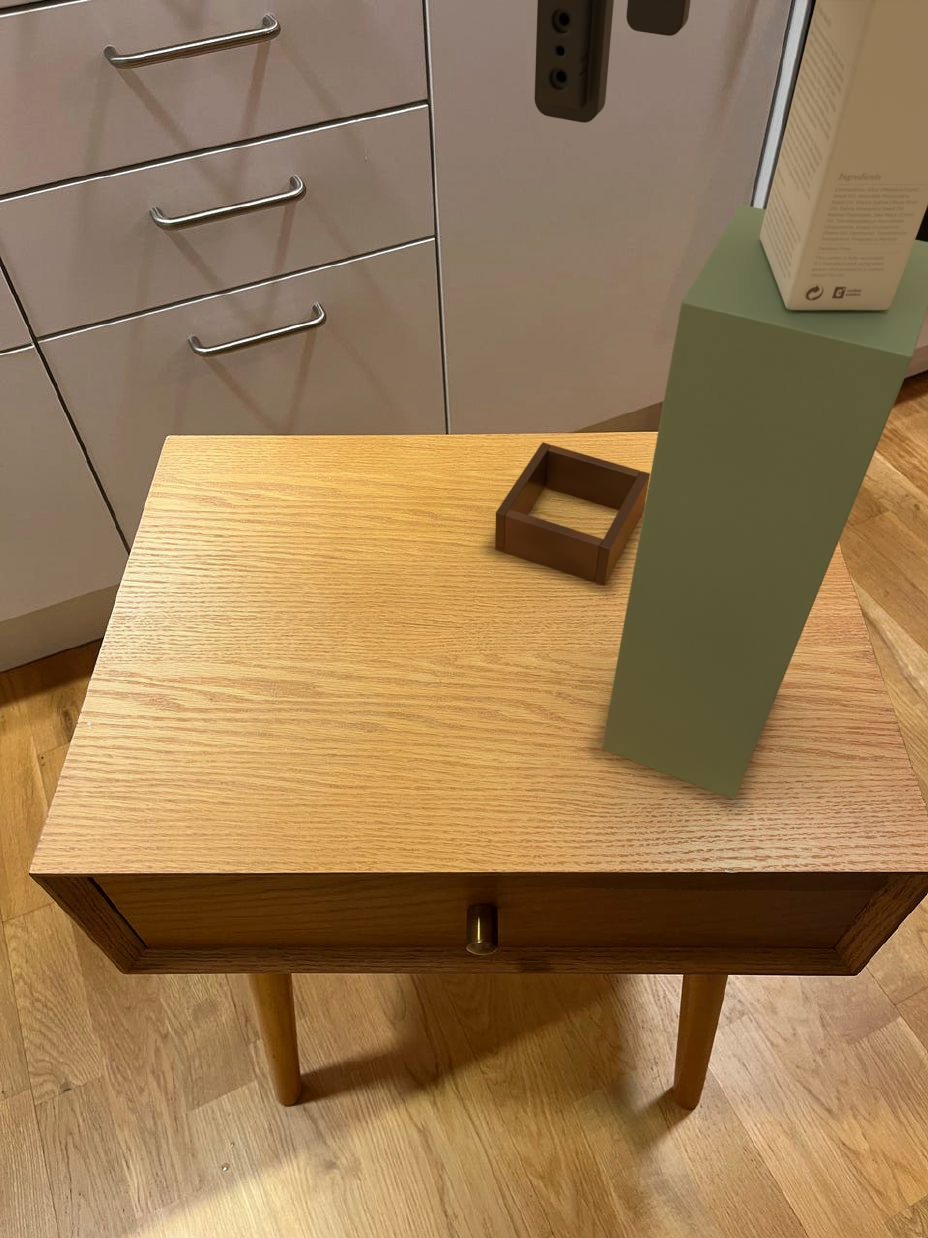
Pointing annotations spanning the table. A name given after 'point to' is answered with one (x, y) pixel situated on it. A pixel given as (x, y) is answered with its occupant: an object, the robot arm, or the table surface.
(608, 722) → the pedestal
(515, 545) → the holder
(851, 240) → the cosmetic box
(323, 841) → the table surface
